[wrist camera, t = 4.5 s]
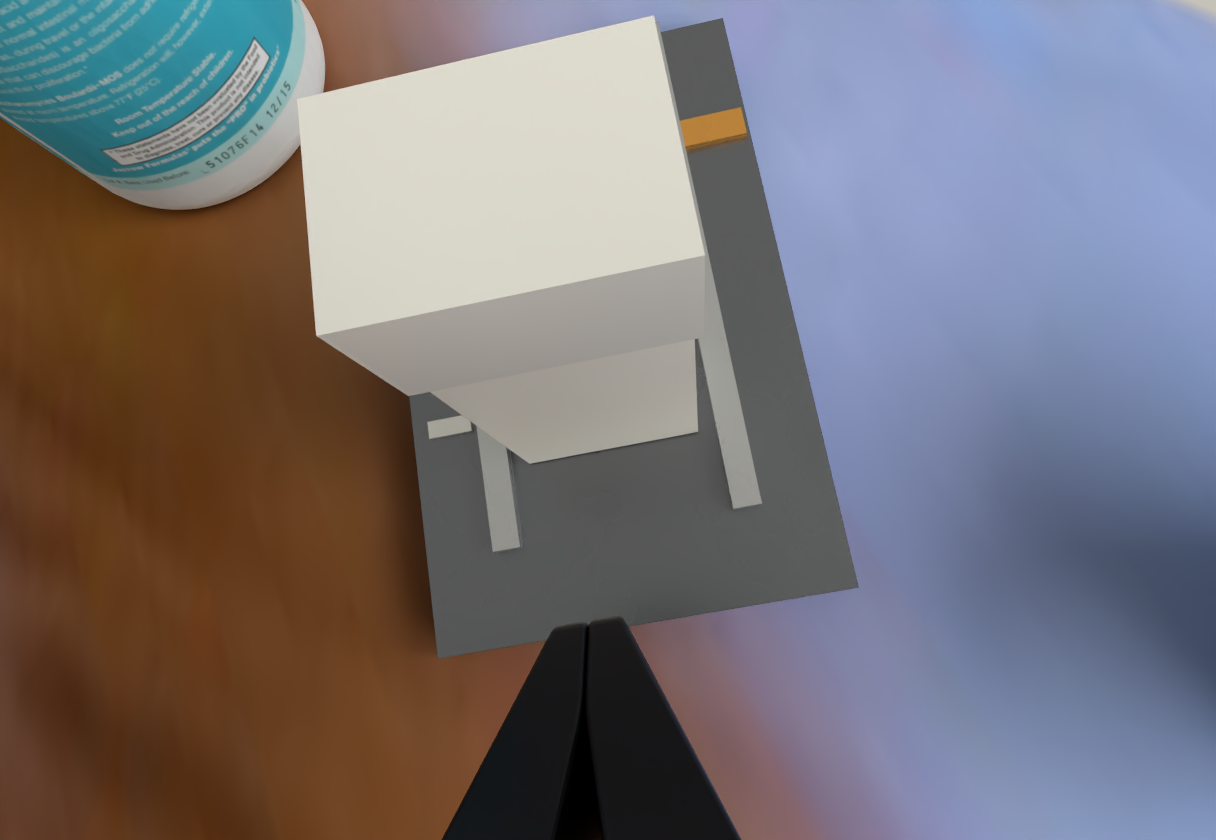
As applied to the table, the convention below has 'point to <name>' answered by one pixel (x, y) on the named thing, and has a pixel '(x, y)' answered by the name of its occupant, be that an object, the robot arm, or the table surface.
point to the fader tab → (515, 240)
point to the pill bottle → (161, 90)
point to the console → (653, 444)
